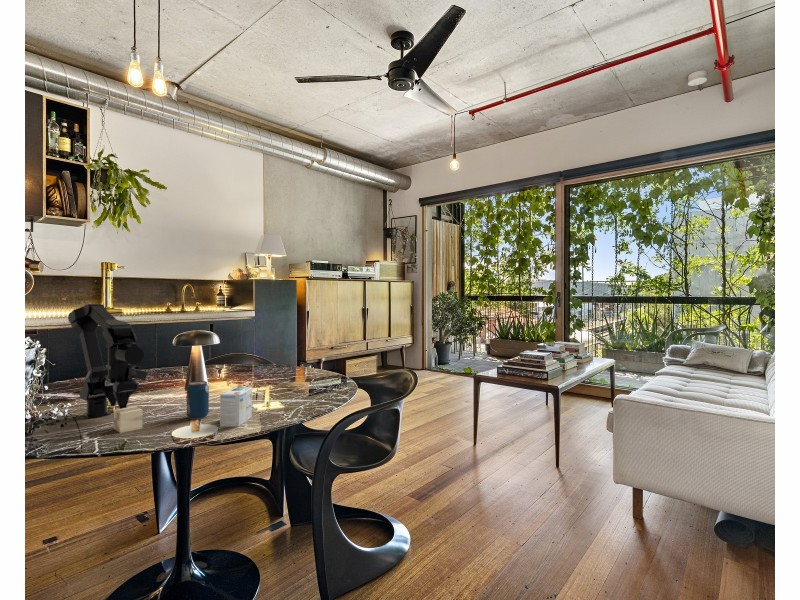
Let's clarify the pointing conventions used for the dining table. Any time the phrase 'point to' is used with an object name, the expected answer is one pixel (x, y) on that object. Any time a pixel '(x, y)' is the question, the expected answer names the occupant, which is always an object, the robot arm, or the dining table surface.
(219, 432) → the dining table surface
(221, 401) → the light bulb box
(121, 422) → the maple block
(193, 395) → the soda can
